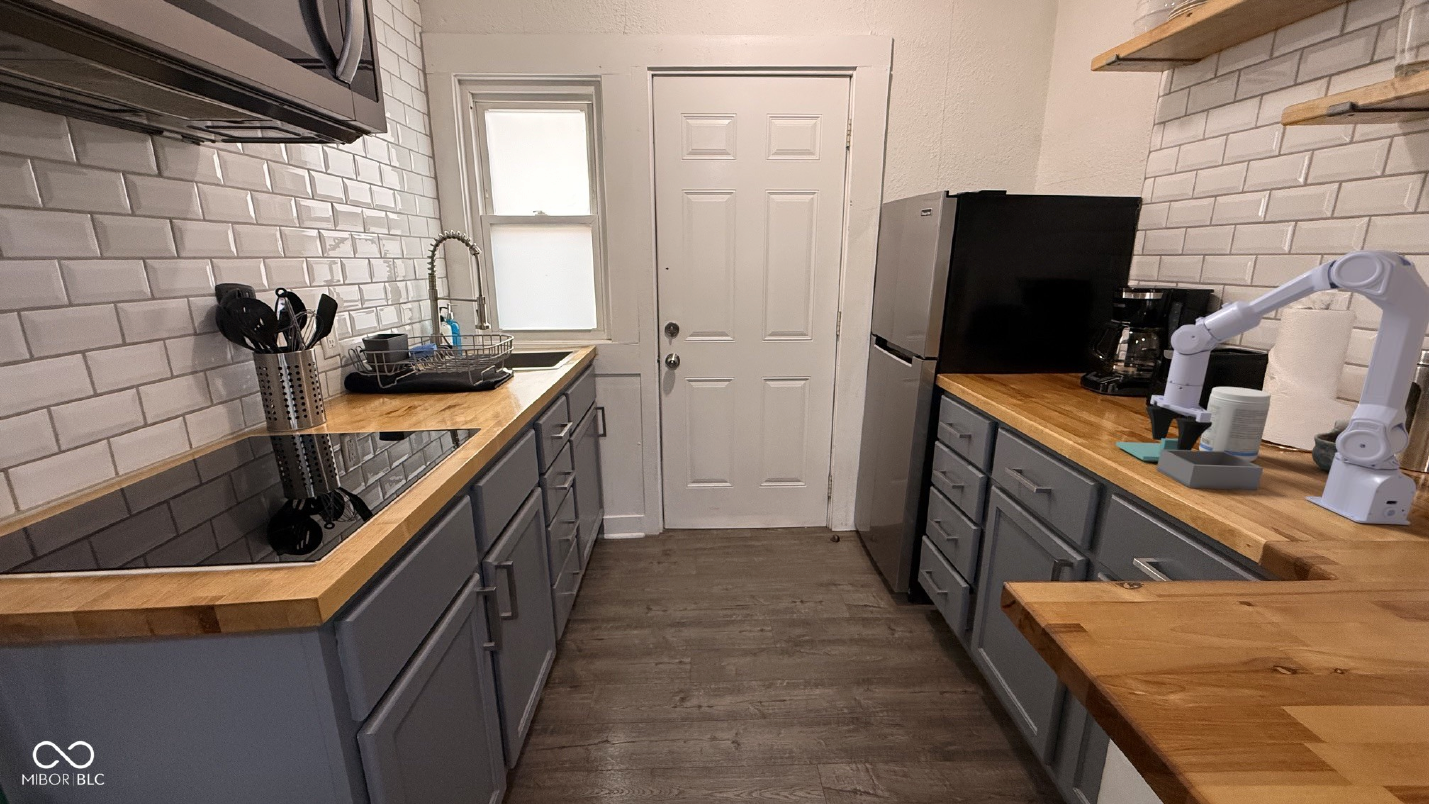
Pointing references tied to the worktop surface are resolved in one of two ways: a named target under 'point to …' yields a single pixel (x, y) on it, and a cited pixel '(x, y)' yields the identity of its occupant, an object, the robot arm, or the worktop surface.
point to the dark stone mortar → (1327, 445)
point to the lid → (1148, 448)
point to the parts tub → (1209, 469)
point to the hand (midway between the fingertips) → (1170, 445)
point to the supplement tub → (1236, 421)
